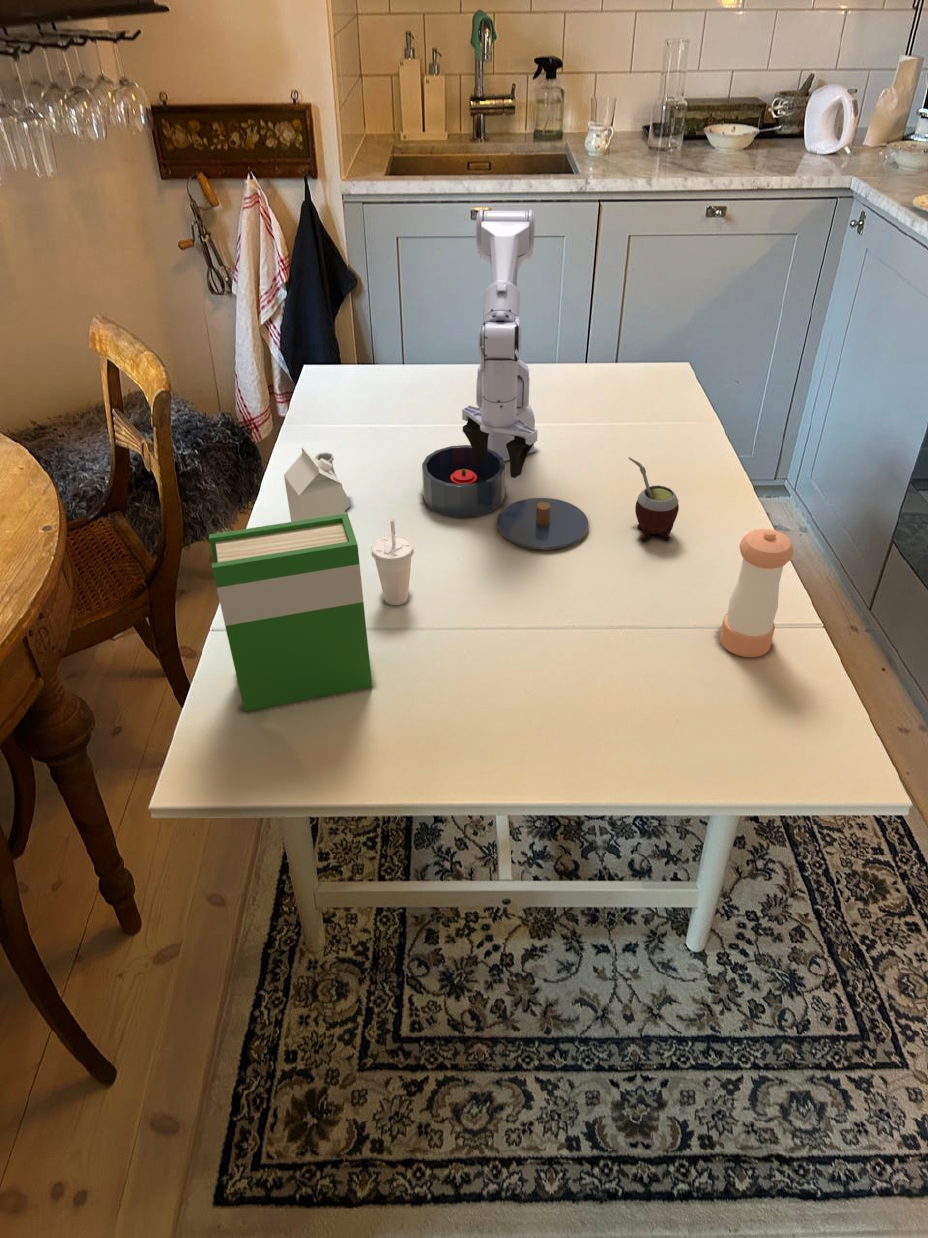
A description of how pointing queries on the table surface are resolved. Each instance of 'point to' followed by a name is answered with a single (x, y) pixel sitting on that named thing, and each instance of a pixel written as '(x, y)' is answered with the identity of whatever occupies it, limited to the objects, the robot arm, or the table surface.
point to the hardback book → (293, 609)
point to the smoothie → (393, 565)
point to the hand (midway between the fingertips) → (498, 468)
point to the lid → (542, 523)
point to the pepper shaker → (756, 593)
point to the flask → (330, 458)
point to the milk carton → (313, 489)
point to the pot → (463, 496)
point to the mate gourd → (655, 509)
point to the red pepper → (463, 477)
